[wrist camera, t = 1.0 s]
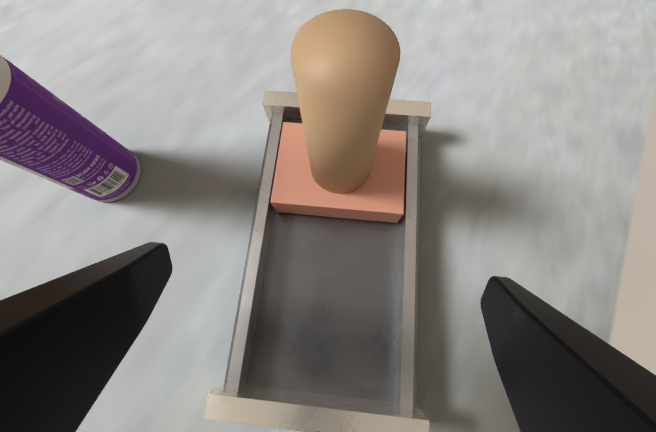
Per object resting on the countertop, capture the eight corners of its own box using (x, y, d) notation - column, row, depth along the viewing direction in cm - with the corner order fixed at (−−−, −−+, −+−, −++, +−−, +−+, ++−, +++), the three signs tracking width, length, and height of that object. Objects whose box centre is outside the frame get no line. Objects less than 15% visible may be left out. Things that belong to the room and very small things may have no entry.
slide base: (412, 421, 19) (429, 447, 15) (226, 398, 19) (203, 418, 16) (418, 129, 25) (431, 102, 21) (274, 118, 25) (265, 90, 22)
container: (143, 146, 25) (-123, -72, 10) (139, 199, 23) (-173, 34, 9) (86, 151, 25) (-260, -60, 10) (79, 205, 23) (-330, 49, 9)
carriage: (396, 222, 21) (467, 132, 10) (276, 212, 22) (213, 113, 10) (399, 147, 23) (462, -5, 12) (287, 138, 23) (244, -16, 12)
